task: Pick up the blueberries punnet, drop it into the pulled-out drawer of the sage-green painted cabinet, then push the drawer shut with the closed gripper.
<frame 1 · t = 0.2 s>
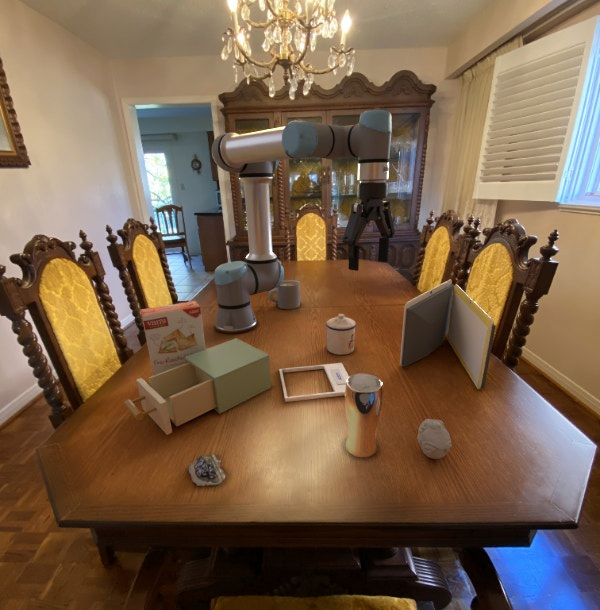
hand: (368, 265, 95), 28 cm above the table, tool pointing down, fingers open, 13 cm apart
photo frame: (315, 382, 92), on the table
drawer: (173, 396, 79), point 5 cm above the table, slide at 11.0 cm
beer glass: (360, 447, 69), on the table
coffee mug: (285, 305, 151), on the table
teacup with lid: (340, 347, 111), on the table
blueberries: (208, 472, 64), on the table
grey folded panels: (432, 358, 103), on the table
cabinet: (230, 388, 90), on the table
cracker box: (182, 379, 96), on the table
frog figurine: (431, 454, 67), on the table
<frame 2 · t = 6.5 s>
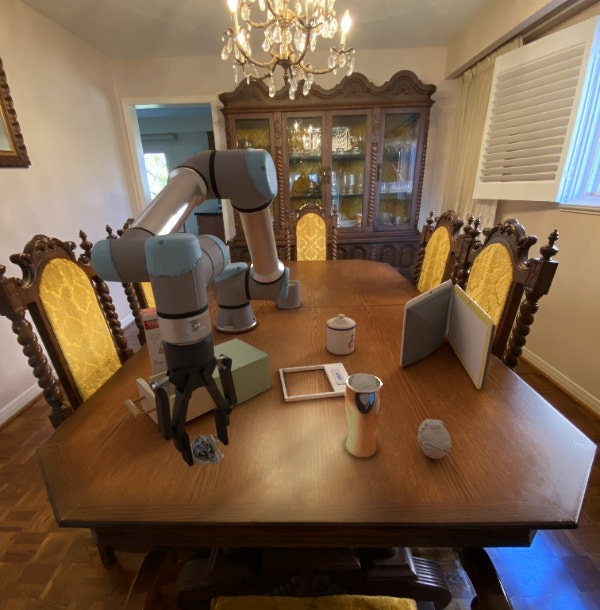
hand: (206, 451, 63), 5 cm above the table, tool pointing down, fingers closed on blueberries, 6 cm apart
blueberries: (207, 452, 63), point 4 cm above the table, touching gripper
everything else where it was.
when the fingers open (6 cm above the table, at t = 11.1 s): blueberries drops 4 cm, resting on drawer.
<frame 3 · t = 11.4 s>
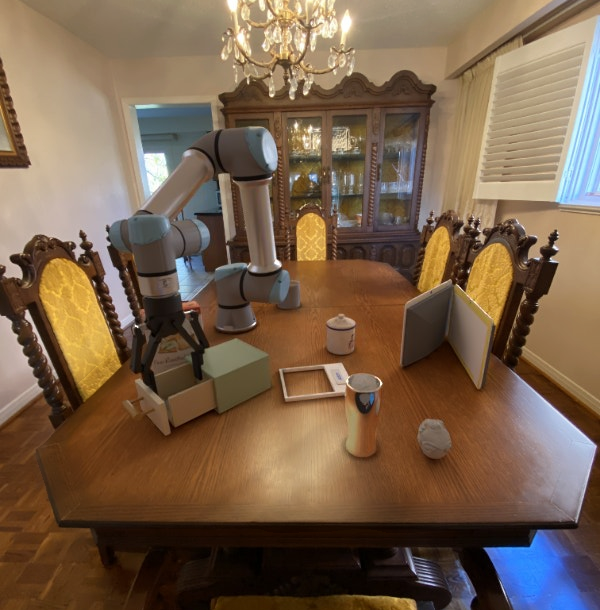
hand: (177, 386, 79), 7 cm above the table, tool pointing down, fingers open, 10 cm apart
drawer: (171, 397, 79), point 5 cm above the table, slide at 11.4 cm, touching blueberries, gripper
blueberries: (180, 404, 81), point 2 cm above the table, touching drawer
everything else where it was.
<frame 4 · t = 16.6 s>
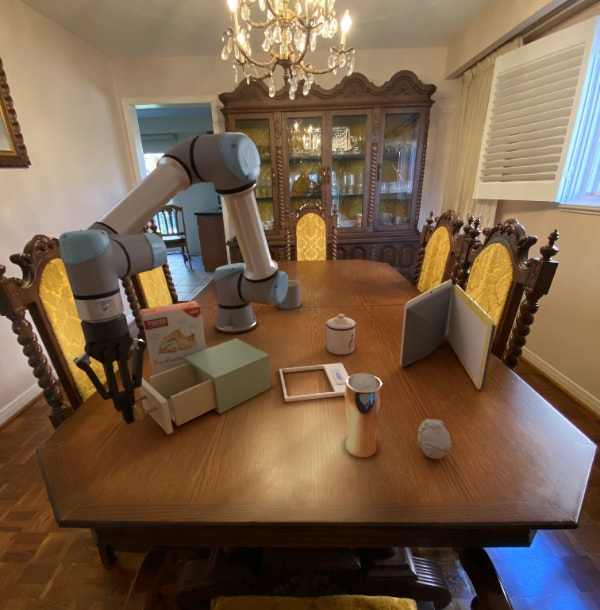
hand: (128, 420, 73), 4 cm above the table, tool pointing down, fingers closed
drawer: (173, 396, 79), point 5 cm above the table, slide at 10.8 cm, touching blueberries
everything else where it was.
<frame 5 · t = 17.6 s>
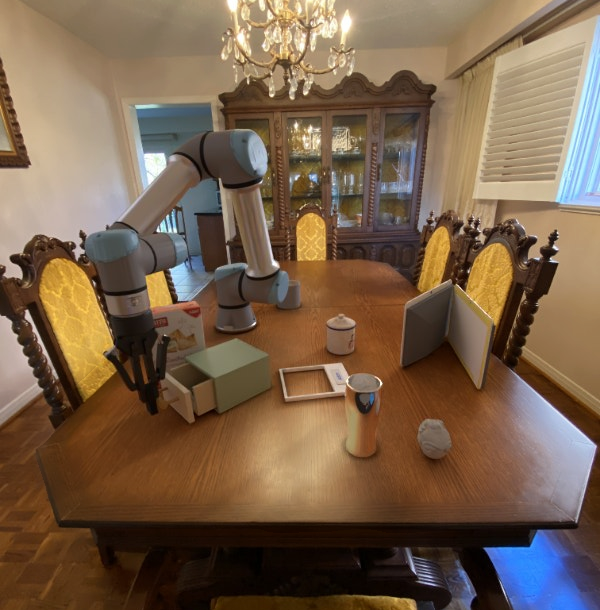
hand: (152, 411, 76), 3 cm above the table, tool pointing down, fingers closed
drawer: (193, 387, 82), point 5 cm above the table, slide at 5.8 cm, touching blueberries, gripper
blueberries: (202, 394, 85), point 2 cm above the table, touching drawer
everything else where it was.
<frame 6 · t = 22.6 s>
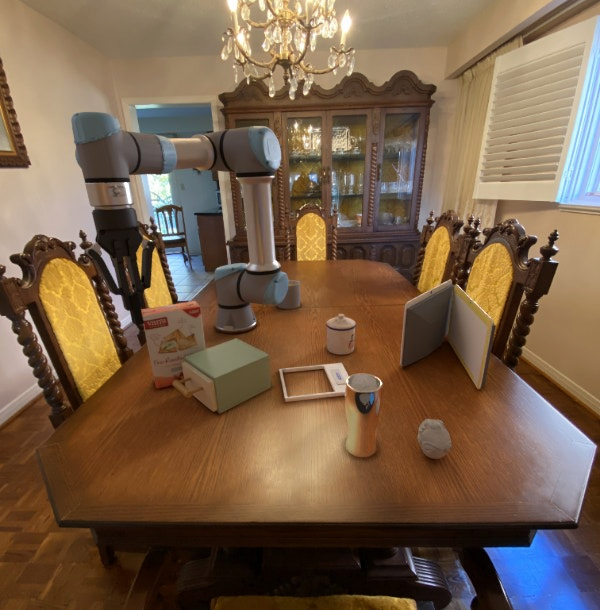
hand: (138, 322, 74), 22 cm above the table, tool pointing down, fingers closed
drawer: (215, 378, 86), point 5 cm above the table, slide at 0.0 cm, touching blueberries, cabinet
blueberries: (222, 385, 88), point 2 cm above the table, touching drawer
everything else where it was.
at the end: blueberries inside the target area in the cabinet (2.0 cm from its centre), point 1.8 cm above the cabinet's base; drawer slide at 0.0 cm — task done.
